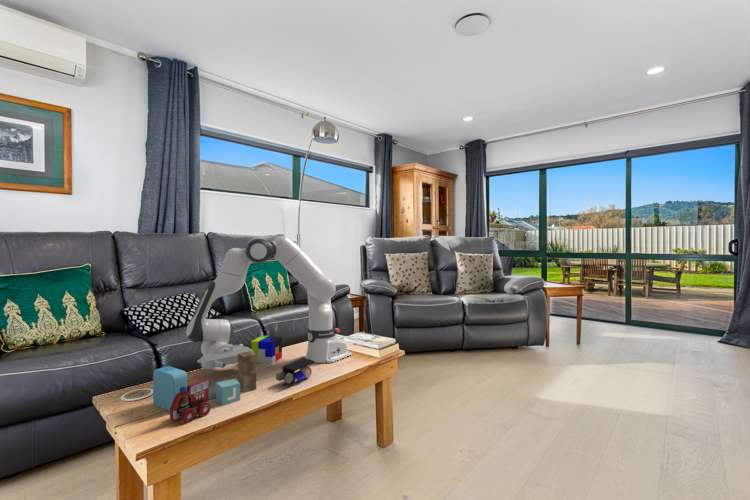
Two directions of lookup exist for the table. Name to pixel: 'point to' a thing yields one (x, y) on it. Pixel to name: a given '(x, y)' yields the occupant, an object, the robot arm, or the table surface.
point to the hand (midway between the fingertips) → (235, 362)
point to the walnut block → (247, 371)
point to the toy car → (291, 375)
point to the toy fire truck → (191, 401)
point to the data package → (167, 385)
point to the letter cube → (227, 391)
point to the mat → (213, 389)
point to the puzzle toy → (267, 349)
